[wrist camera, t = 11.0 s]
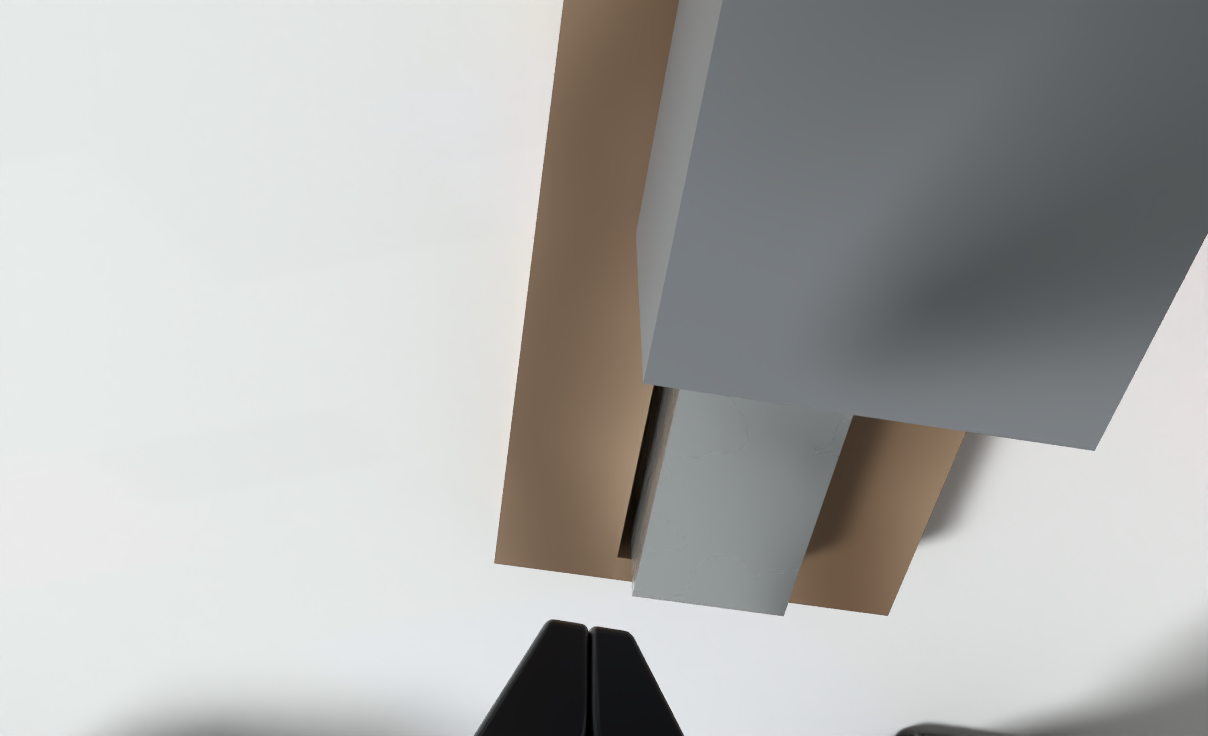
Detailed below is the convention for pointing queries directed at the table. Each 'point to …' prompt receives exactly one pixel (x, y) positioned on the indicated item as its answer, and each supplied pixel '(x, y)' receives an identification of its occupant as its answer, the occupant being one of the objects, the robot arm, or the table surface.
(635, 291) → the rail base
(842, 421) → the rail
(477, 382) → the table surface
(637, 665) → the robot arm
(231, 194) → the table surface
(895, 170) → the block
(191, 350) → the table surface
